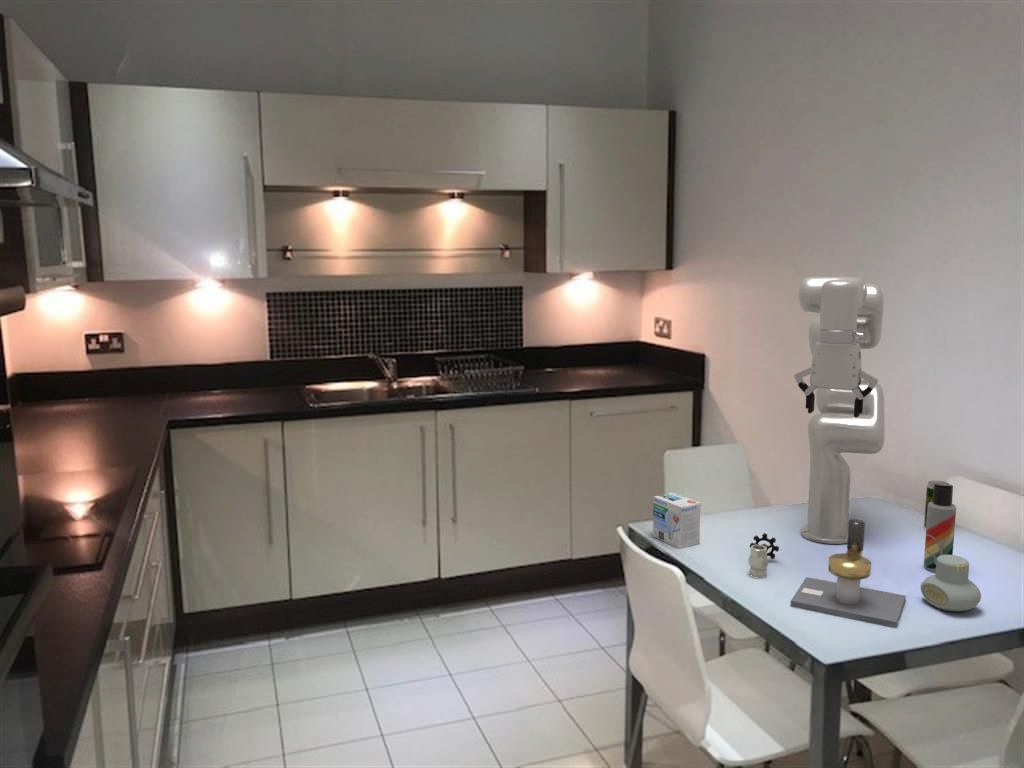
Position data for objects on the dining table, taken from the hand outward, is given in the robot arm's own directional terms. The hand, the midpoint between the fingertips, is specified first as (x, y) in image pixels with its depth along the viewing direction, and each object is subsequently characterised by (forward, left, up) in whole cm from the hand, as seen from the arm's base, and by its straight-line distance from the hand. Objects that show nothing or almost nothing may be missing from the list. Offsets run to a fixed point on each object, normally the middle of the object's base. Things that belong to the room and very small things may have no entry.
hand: (833, 414), depth 188 cm
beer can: (-41, +19, -36) cm, 58 cm away
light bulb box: (-1, -36, -36) cm, 51 cm away
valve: (+7, -13, -36) cm, 39 cm away
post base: (+17, +8, -36) cm, 41 cm away
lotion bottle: (-12, +22, -36) cm, 44 cm away
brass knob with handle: (+15, +8, -29) cm, 33 cm away
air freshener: (+8, +26, -36) cm, 45 cm away
